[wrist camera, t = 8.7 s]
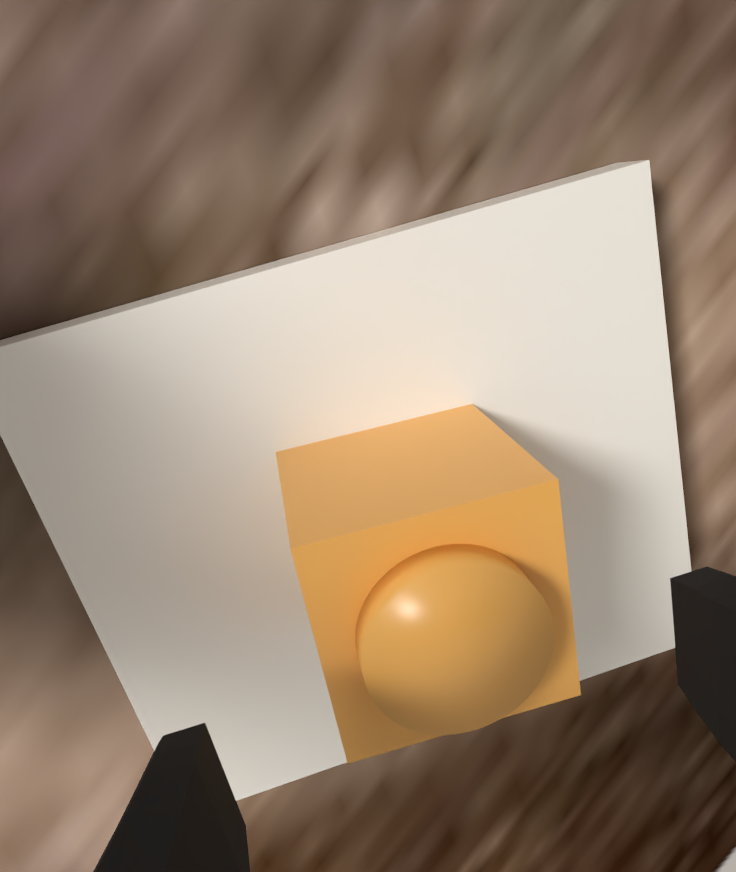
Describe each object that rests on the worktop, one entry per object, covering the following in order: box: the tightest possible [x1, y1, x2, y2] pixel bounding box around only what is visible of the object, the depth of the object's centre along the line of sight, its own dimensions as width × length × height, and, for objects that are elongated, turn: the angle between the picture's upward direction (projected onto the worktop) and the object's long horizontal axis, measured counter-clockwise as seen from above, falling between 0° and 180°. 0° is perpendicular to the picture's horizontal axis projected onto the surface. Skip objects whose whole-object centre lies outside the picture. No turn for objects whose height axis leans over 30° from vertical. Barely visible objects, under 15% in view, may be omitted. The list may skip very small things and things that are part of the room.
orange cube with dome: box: [276, 404, 581, 764], centre depth 15 cm, size 5×5×6 cm
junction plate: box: [0, 160, 692, 801], centre depth 17 cm, size 16×14×5 cm
